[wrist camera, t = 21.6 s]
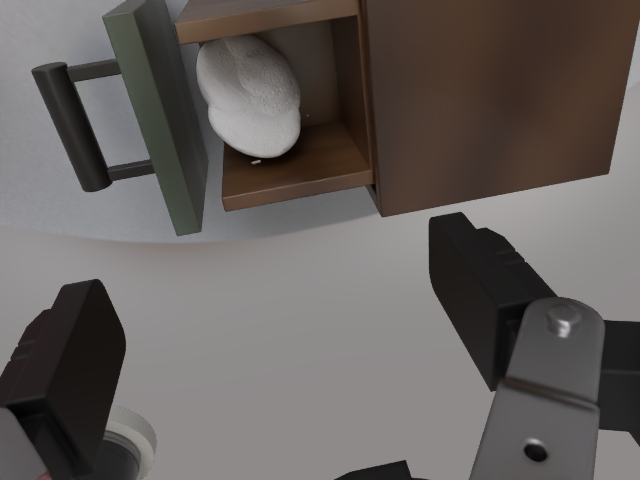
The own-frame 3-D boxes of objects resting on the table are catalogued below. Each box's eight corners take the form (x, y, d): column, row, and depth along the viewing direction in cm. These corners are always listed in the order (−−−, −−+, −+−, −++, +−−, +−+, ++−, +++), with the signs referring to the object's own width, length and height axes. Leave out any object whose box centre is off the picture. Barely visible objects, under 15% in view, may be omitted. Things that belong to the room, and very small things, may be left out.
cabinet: (341, 140, 33) (381, 218, 24) (319, -52, 27) (361, -44, 18) (509, 109, 34) (609, 174, 25) (524, -85, 28) (663, -93, 19)
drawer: (117, 178, 31) (81, 255, 24) (50, 6, 26) (-23, 36, 18) (352, 135, 32) (389, 196, 25) (335, -41, 27) (375, -30, 19)
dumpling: (196, 70, 28) (187, 17, 24) (288, 61, 29) (293, 9, 25) (214, 184, 26) (207, 144, 22) (313, 170, 26) (322, 131, 23)
